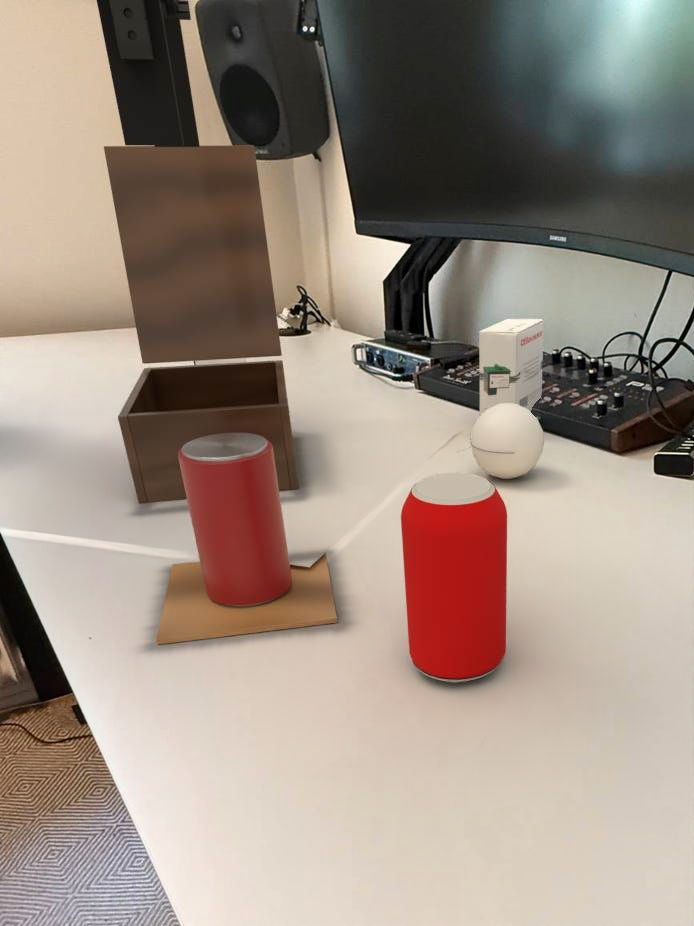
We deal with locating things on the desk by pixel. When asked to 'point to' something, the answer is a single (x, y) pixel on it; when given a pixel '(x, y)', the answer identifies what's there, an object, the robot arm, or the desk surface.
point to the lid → (195, 251)
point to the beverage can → (455, 576)
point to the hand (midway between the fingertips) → (167, 147)
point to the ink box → (511, 363)
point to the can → (236, 517)
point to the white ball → (507, 440)
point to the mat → (206, 618)
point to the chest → (203, 420)
